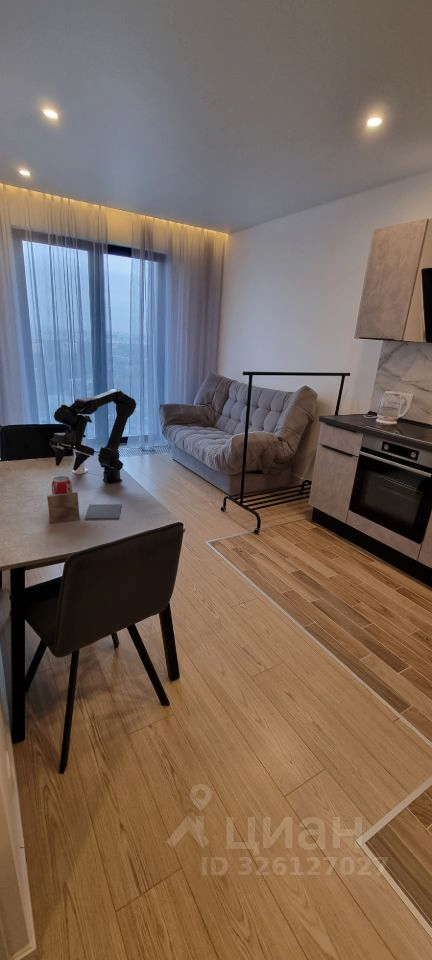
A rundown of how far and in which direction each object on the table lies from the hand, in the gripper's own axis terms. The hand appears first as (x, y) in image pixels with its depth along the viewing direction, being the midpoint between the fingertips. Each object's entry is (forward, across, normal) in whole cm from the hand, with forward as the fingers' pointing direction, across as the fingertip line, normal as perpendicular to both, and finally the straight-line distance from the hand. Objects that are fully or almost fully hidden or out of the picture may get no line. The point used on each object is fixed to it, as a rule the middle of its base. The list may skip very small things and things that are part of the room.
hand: (65, 468), depth 152 cm
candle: (0, -21, +30) cm, 36 cm away
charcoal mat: (+12, +20, +5) cm, 24 cm away
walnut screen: (+18, +12, -5) cm, 22 cm away
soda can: (+15, +5, 0) cm, 16 cm away
